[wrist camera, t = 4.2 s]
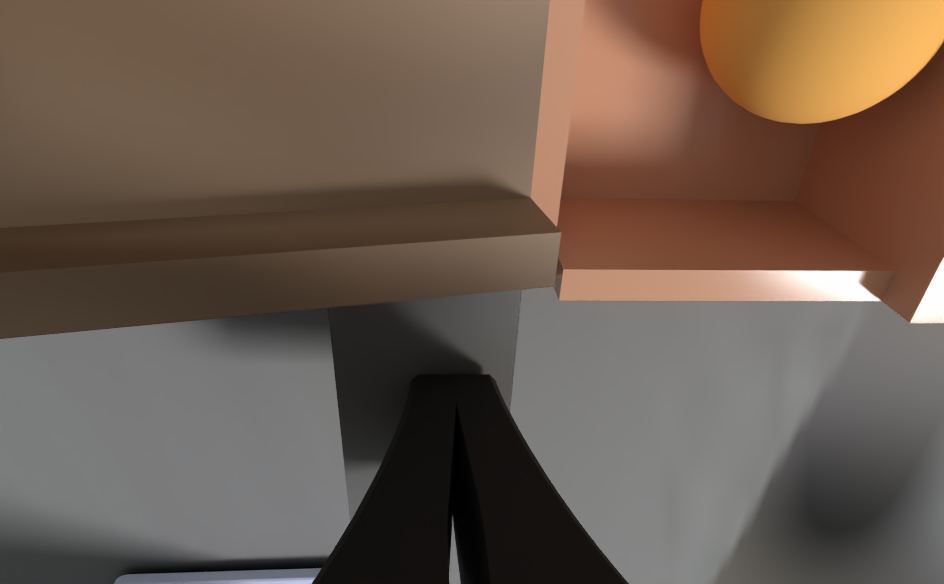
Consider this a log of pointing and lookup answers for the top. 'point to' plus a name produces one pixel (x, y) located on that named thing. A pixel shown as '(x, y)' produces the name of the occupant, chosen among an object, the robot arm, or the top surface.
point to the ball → (817, 53)
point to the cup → (727, 176)
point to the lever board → (280, 179)
